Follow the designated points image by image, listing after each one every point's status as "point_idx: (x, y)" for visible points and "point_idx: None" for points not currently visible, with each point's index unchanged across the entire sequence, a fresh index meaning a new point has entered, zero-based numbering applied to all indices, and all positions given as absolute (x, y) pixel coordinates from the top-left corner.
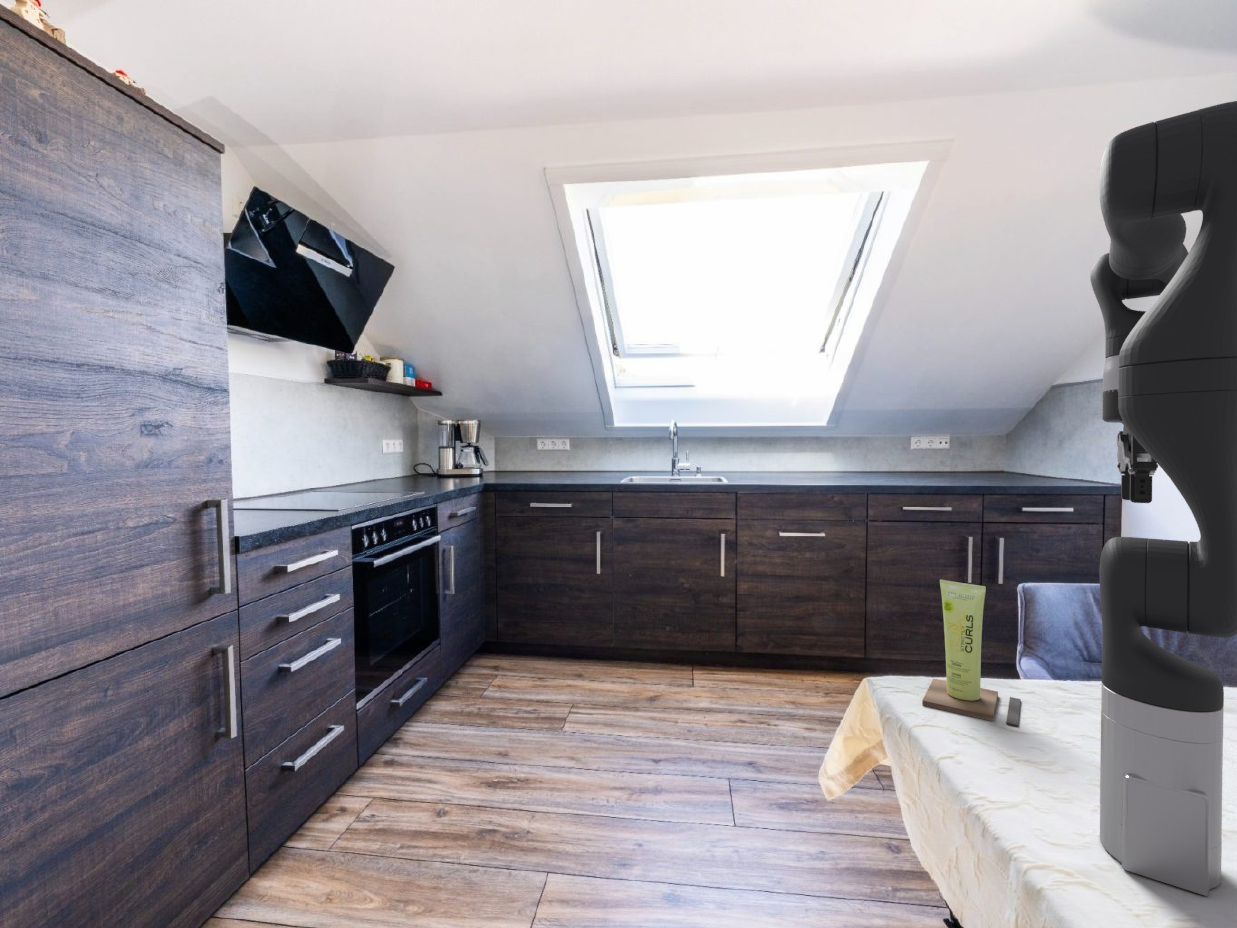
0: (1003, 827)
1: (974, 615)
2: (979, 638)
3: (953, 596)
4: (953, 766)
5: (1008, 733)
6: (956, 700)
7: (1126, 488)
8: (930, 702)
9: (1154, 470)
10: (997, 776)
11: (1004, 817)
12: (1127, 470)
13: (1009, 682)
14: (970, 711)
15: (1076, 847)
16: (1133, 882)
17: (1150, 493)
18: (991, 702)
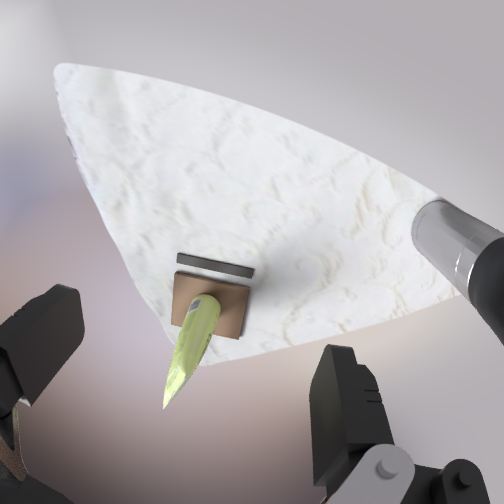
0: (423, 303)
1: (199, 359)
2: (201, 335)
3: (181, 388)
4: (355, 324)
5: (273, 279)
6: (222, 313)
7: (58, 354)
8: (239, 334)
9: (458, 462)
10: (362, 299)
11: (413, 302)
12: (6, 405)
13: (127, 252)
14: (245, 306)
15: (434, 270)
16: None
17: (355, 374)
18: (210, 285)
